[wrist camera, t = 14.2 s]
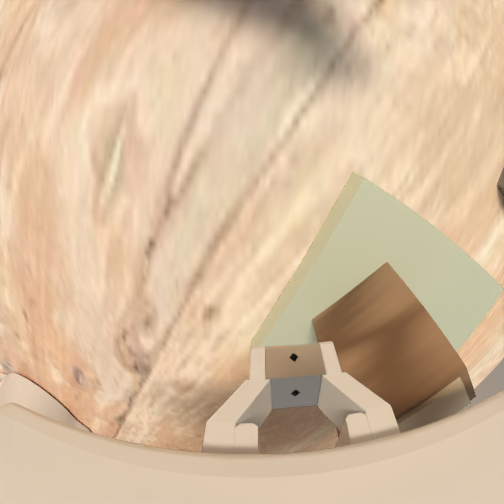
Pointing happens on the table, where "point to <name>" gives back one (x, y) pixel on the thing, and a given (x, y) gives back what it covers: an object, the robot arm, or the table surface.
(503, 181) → the soap mold
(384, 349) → the block
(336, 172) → the table surface
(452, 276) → the board
